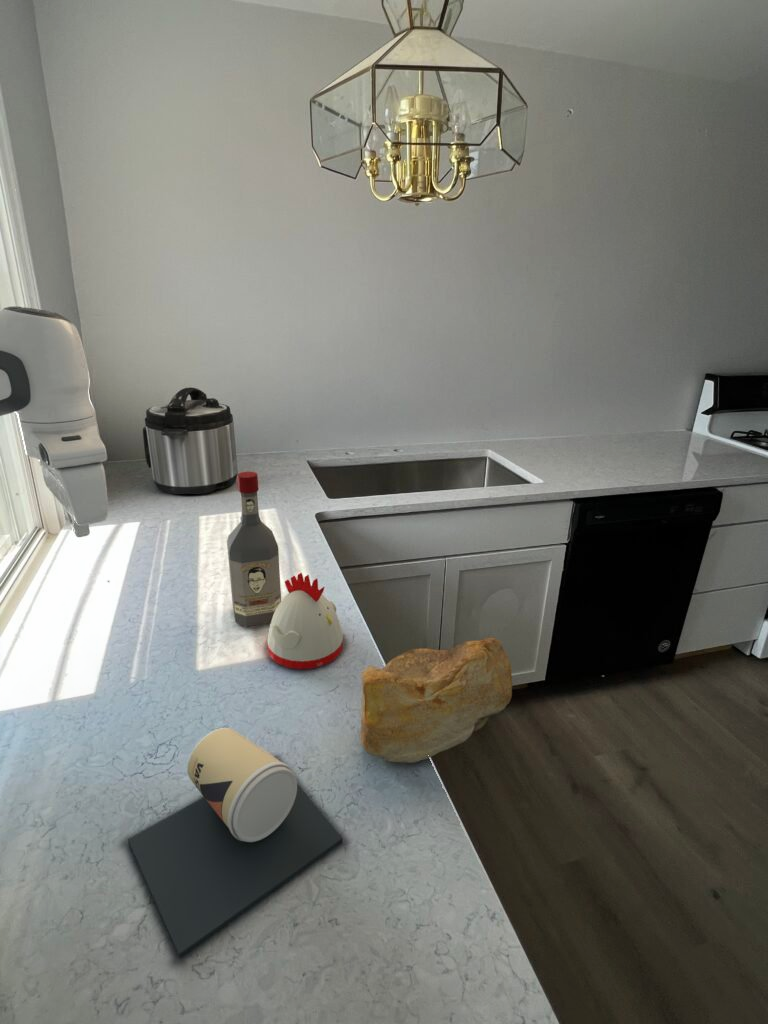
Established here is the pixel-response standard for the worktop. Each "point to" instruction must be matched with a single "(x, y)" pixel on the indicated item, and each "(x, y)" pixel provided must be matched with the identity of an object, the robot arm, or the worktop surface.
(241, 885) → the slate mat
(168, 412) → the pressure cooker
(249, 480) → the liquor
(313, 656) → the kitchen timer
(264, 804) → the coffee cup
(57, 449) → the robot arm
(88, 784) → the worktop surface
